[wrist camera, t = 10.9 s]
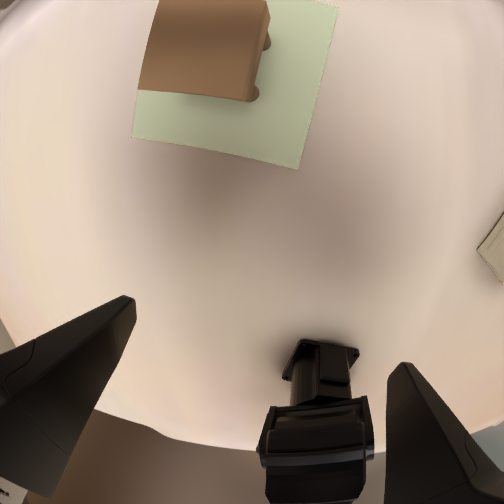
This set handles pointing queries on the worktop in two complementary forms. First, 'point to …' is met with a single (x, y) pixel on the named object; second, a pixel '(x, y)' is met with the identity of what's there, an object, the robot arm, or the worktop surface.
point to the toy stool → (206, 48)
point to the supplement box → (495, 250)
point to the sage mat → (265, 106)
